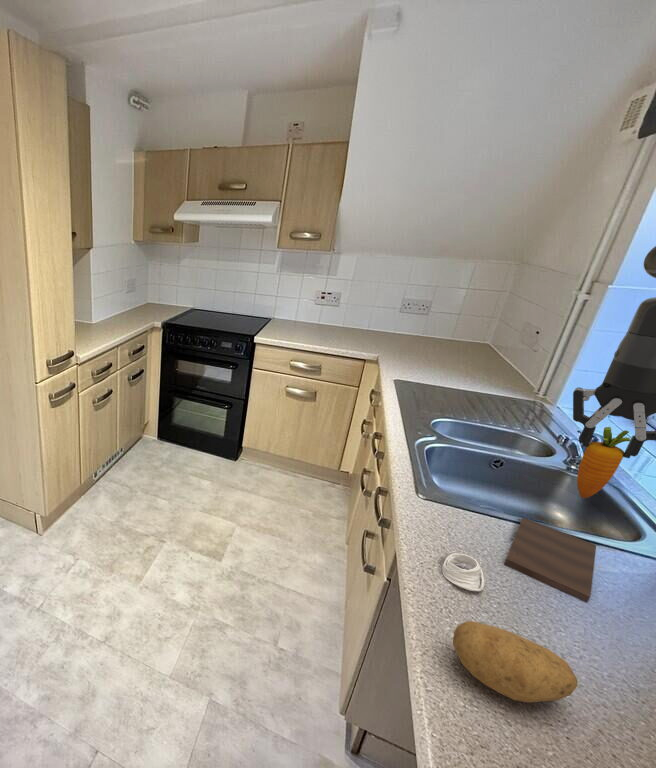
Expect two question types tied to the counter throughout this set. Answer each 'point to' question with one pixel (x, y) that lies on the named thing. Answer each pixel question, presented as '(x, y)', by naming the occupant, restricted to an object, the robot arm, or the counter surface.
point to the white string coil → (463, 572)
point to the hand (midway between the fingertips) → (605, 450)
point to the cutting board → (553, 558)
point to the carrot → (600, 463)
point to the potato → (512, 663)
